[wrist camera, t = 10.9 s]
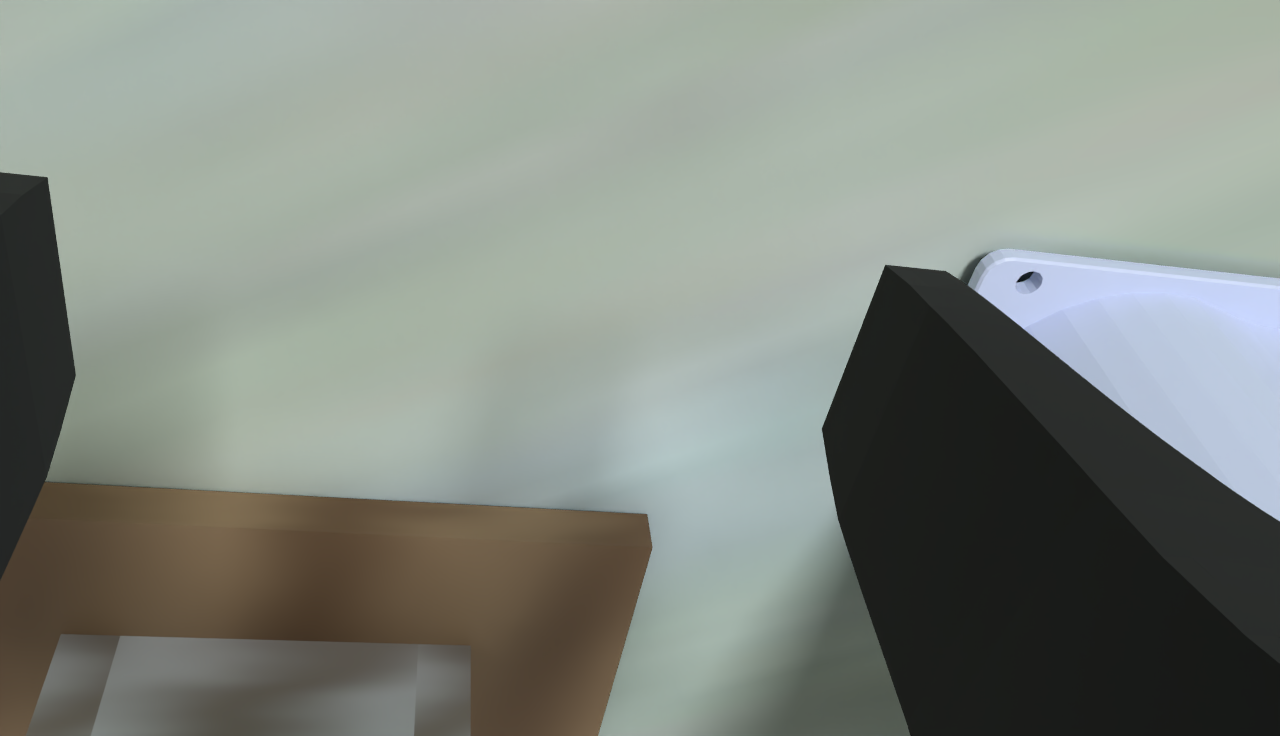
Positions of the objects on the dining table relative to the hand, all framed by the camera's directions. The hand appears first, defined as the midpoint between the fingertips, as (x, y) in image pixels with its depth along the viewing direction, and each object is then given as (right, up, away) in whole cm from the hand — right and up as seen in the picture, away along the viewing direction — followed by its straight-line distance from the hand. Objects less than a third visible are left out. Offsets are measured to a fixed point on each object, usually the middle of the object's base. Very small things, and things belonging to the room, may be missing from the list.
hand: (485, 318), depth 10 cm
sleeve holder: (-8, -9, +19) cm, 22 cm away
